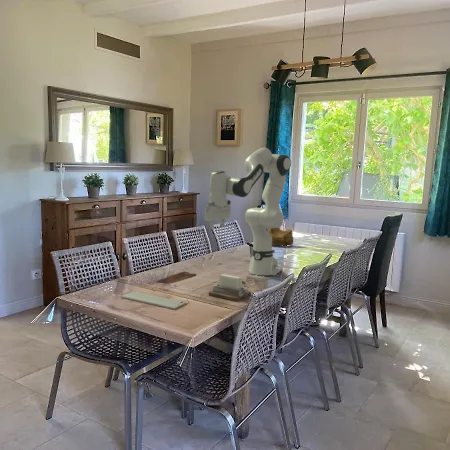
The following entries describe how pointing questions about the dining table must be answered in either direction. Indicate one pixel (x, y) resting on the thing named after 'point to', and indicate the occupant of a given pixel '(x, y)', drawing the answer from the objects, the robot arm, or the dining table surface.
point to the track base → (229, 293)
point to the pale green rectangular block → (230, 282)
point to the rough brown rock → (281, 236)
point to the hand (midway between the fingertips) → (217, 227)
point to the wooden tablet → (176, 277)
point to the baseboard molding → (154, 300)
